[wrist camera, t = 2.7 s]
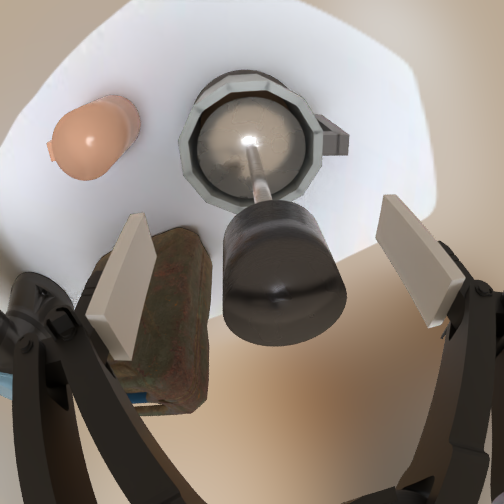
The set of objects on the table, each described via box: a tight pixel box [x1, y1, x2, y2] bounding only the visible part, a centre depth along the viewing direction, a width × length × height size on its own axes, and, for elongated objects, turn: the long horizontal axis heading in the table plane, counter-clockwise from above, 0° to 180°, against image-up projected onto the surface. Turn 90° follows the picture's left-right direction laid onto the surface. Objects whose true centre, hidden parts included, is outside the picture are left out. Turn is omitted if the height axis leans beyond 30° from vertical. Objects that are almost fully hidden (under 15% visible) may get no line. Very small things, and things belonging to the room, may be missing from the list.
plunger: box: [197, 97, 347, 346], centre depth 18 cm, size 9×9×18 cm
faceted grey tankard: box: [178, 70, 349, 214], centre depth 29 cm, size 15×13×13 cm
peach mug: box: [47, 95, 140, 181], centre depth 29 cm, size 10×8×9 cm
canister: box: [91, 228, 212, 416], centre depth 36 cm, size 19×8×25 cm, turn 108°
